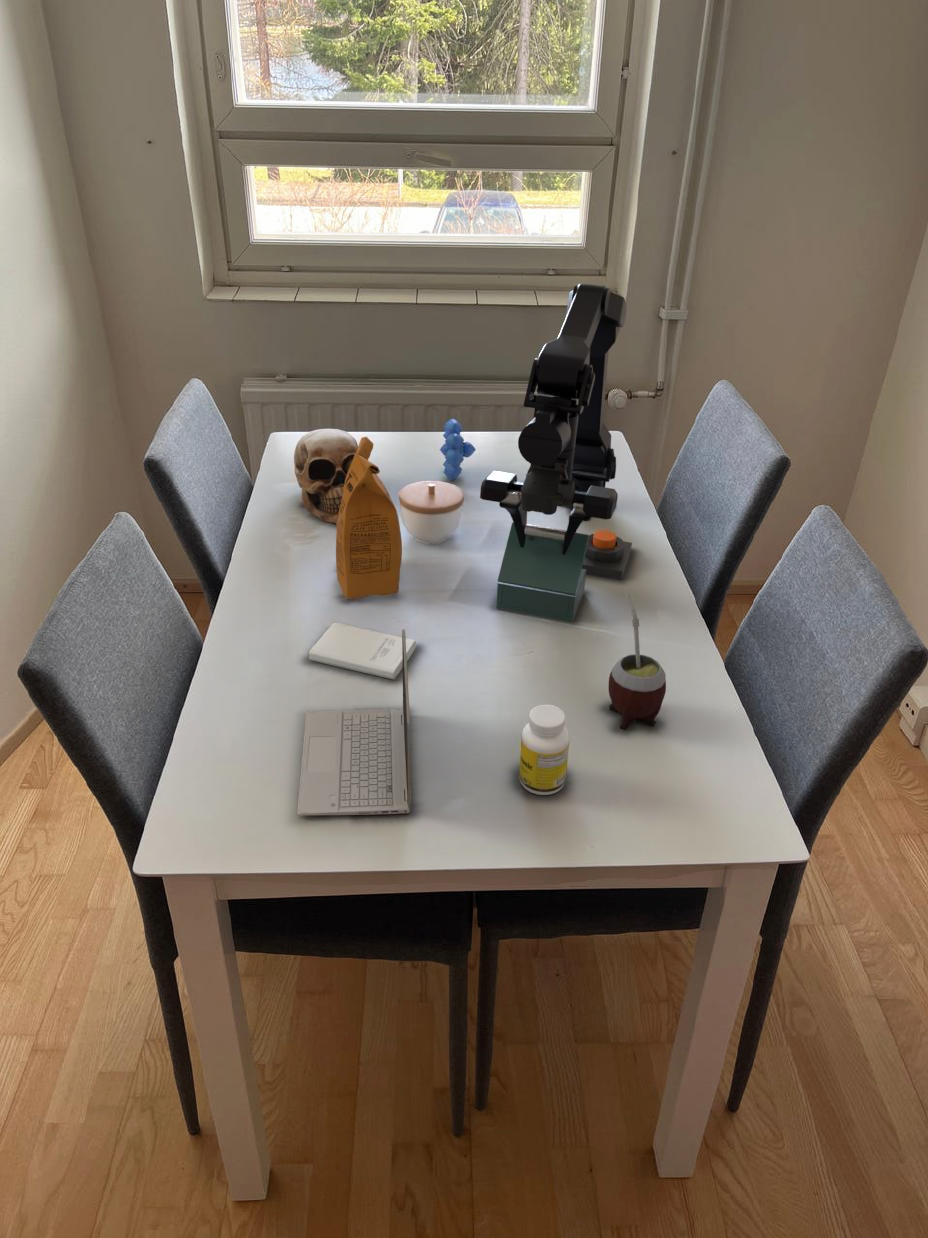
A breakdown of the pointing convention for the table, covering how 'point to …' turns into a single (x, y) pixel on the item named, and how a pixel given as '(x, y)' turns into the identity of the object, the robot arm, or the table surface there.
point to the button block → (607, 559)
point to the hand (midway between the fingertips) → (542, 550)
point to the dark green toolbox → (540, 600)
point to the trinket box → (431, 510)
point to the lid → (543, 560)
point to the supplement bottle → (544, 751)
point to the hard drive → (361, 650)
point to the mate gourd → (636, 684)
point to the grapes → (454, 449)
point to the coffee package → (367, 532)
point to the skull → (324, 470)
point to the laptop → (357, 760)
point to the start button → (604, 539)
